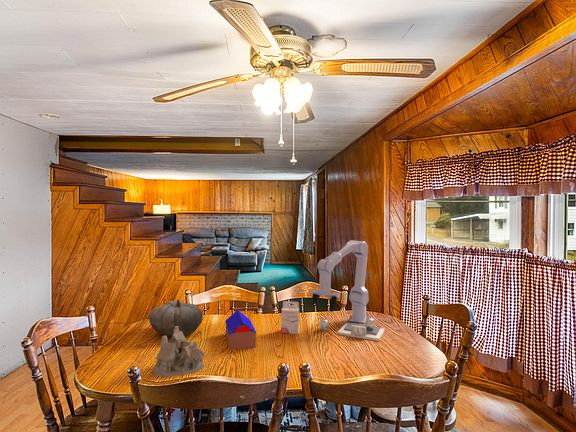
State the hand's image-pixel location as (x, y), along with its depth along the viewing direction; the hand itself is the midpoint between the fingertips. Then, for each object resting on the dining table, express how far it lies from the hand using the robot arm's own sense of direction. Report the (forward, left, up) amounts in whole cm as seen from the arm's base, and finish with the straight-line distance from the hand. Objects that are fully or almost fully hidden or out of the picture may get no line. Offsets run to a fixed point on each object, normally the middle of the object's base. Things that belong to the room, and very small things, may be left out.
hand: (324, 310), depth 177 cm
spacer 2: (-6, +22, -8) cm, 24 cm away
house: (+31, -30, -10) cm, 45 cm away
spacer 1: (0, 0, -10) cm, 10 cm away
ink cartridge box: (+11, -14, -10) cm, 21 cm away
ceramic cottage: (+66, -35, -10) cm, 75 cm away
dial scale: (-5, +18, -10) cm, 21 cm away
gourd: (+37, -63, -10) cm, 74 cm away
